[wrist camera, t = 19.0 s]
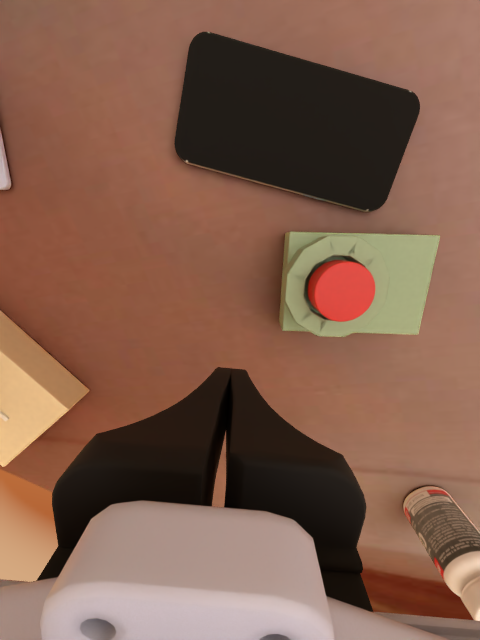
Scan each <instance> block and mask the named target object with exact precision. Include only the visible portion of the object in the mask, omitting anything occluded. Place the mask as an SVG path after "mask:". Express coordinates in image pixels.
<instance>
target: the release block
mask: <svg viewBox="0 0 480 640" xmlns="http://www.w3.org/2000/svg"><path fill="white" fill-rule="evenodd" d="M439 239H440V235H409V234H367V233H326V232H288V233H285V242H284V257H283V272H282V286H281V301H280V316H279V323H280V325H281V328H282V330H283V331H310V332H311V333H313V334H315V335H316V336H325V337H343V336H344V337H345V336H347V335H349V334H351V333H378V334H411V335H418V333H419V328H420V324H421V319H422V315H423V310H424V306H425V301H426V297H427V293H428V288H429V284H430V279H431V275H432V270H433V266H434V261H435V257H436V252H437V248H438V243H439ZM333 260H344V261H351V262H356V263H359V264H361V265H363V266H364V267H365V268H367V269H368V270H369V271H370V273H371V274H372V276H373V278H374V281H375V296H374V299H373V302H372V304H371V305H370V307H369V308H368V309H367V311H366V312H364V313H363V314H362V315H361V316H359V317H357V318H356V319H353V320H350V321H345V322H337V321H333V320H330V319H328V318H326V317H325V316H323V315H322V314H321V313H320V312H319V311H318V310H317V309H315V308H314V306H313V305H312V304H311V302H310V300H309V297H308V283H309V280H310V278H311V276H312V274H313V273H314V272H315V270H316V269H317V268H318V267H320V266H321V265H323V264H324V263H327V262H329V261H333Z"/></svg>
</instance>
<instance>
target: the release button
mask: <svg viewBox="0 0 480 640" xmlns="http://www.w3.org/2000/svg"><path fill="white" fill-rule="evenodd" d="M374 296H375V281H374V278H373V276H372V274H371V273H370V271H369V270H368V269H367V268H365V267H364V266H363V265H361V264H359V263H356V262H351V261H344V260H333V261H329V262H327V263H324V264H323V265H321V266H320V267H318V268H317V269H316V270H315V272H314V273H313V274H312V276H311V278H310V280H309V283H308V297H309V300H310V302H311V304H312V305H313V306H314V308H315V309H317V310H318V311H319V312H320V313H321V314H322V315H323V316H325V317H326V318H328V319H330V320H333V321H337V322H345V321H350V320H353V319H356V318H357V317H359V316H361V315H362V314H363V313H364V312H366V311H367V309H368V308H369V307H370V305H371V304H372V302H373V299H374Z"/></svg>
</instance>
